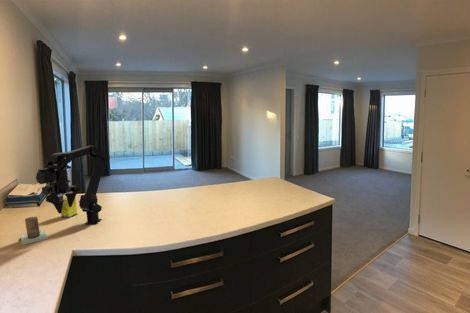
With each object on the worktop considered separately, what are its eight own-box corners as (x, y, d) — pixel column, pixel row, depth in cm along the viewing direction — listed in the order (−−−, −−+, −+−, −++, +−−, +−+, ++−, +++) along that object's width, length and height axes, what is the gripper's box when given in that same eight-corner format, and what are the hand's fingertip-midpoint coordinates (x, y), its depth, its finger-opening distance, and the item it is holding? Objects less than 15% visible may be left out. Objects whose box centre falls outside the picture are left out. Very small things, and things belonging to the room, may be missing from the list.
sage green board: (21, 237, 150) (20, 235, 150) (45, 232, 156) (44, 230, 156) (22, 244, 142) (21, 242, 142) (47, 238, 148) (46, 236, 148)
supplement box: (61, 217, 177) (58, 198, 175) (70, 213, 182) (67, 195, 181) (69, 218, 175) (66, 199, 173) (77, 214, 180) (75, 196, 178)
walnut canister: (32, 234, 151) (29, 216, 150) (42, 234, 151) (39, 216, 150) (25, 238, 147) (22, 220, 145) (35, 238, 146) (32, 220, 145)
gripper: (56, 175, 158) (59, 204, 161) (32, 184, 140) (36, 217, 143) (77, 174, 158) (81, 203, 161) (56, 183, 140) (60, 216, 142)
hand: (65, 210), depth 152 cm, fingers open, 9 cm apart
